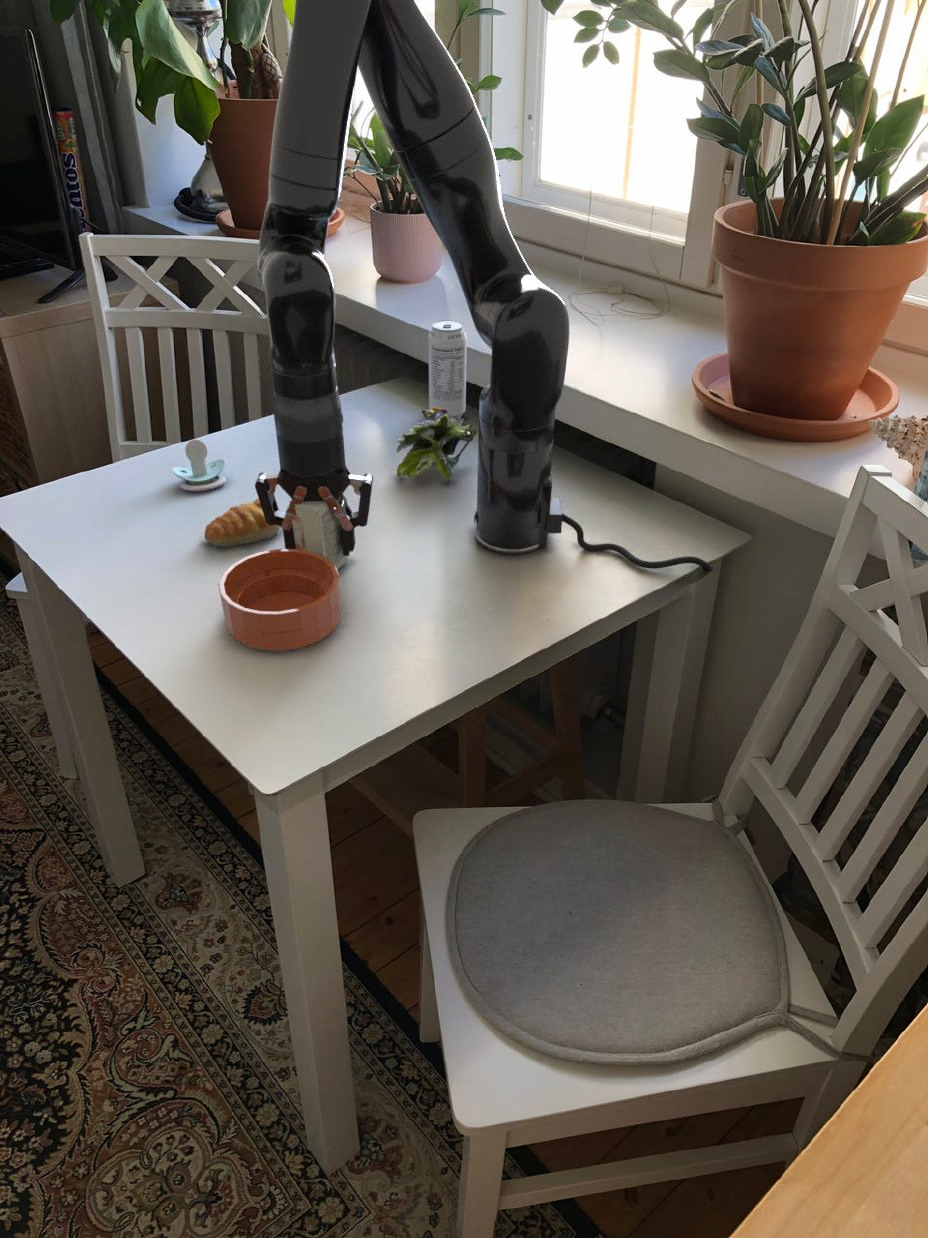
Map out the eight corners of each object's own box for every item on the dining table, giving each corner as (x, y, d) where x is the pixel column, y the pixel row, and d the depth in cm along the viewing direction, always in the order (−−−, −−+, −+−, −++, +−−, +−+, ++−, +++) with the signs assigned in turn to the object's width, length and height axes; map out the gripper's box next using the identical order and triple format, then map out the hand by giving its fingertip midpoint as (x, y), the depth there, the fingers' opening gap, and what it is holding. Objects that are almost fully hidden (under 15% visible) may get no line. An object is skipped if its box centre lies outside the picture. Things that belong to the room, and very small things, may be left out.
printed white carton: (319, 552, 119) (313, 482, 113) (348, 561, 117) (343, 490, 111) (295, 572, 115) (287, 500, 109) (325, 581, 113) (318, 509, 107)
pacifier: (232, 488, 133) (223, 469, 137) (226, 449, 129) (217, 430, 133) (179, 497, 130) (173, 478, 135) (172, 458, 127) (165, 439, 131)
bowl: (347, 587, 112) (344, 549, 109) (335, 655, 102) (331, 614, 99) (238, 586, 112) (232, 548, 109) (214, 654, 102) (207, 613, 98)
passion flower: (435, 492, 143) (471, 422, 141) (464, 512, 134) (503, 438, 132) (374, 463, 137) (411, 389, 135) (400, 481, 128) (440, 403, 126)
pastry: (220, 557, 118) (215, 531, 115) (196, 535, 122) (191, 510, 120) (284, 534, 122) (281, 508, 120) (260, 514, 127) (256, 489, 124)
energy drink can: (467, 408, 156) (469, 319, 147) (462, 423, 151) (464, 332, 142) (432, 406, 157) (431, 317, 148) (426, 420, 152) (425, 330, 143)
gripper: (238, 439, 102) (257, 568, 112) (369, 440, 102) (377, 569, 112) (251, 411, 108) (268, 536, 118) (375, 412, 108) (381, 537, 118)
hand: (321, 551), depth 115 cm, fingers closed on printed white carton, 5 cm apart
